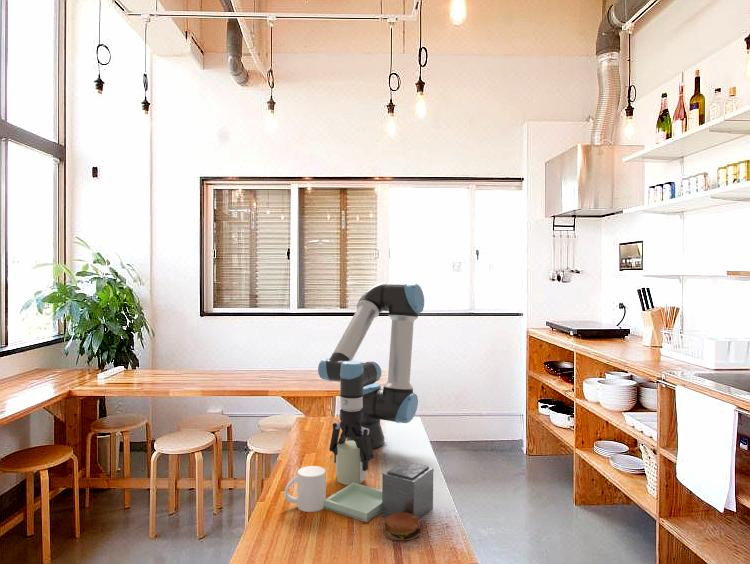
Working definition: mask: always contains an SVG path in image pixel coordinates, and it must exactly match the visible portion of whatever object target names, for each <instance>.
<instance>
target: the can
mask: <svg viewBox="0 0 750 564" xmlns="http://www.w3.org/2000/svg"><path fill="white" fill-rule="evenodd" d="M337 448H338V468H337V476H336V481H337V483H339V484H342V485H346V486H348V485H350V484H351V483H353V482H354V483H357V484H362V483H363V482H365V480H363V481H360V461H361V460H362V459H361V456H360V448H357V445H356V442H355V441H354V440H349V441H347V440H346V441H345V442H344V443H342V444H339V443H338V445H337Z"/></svg>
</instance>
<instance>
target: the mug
mask: <svg viewBox="0 0 750 564" xmlns="http://www.w3.org/2000/svg"><path fill="white" fill-rule="evenodd" d="M326 479H327V471H326V469H325V468H324V467H323V466H318V465H308V466H303V467H301V468H299V469H298V470H297V475H296V476H294V477H292V478H291V479H290V480H289V481H288V483H287V484H286V486H285V488H284V492H283V494H284V497H285V499H286V501H288V502H290V503H293V504H296V506H297V508H298V510H299V511H302V512H305V513H315V512H319V511H321V510H324V500H325V499H326V498H327V497H326V495H327V491H326V490H327V485H326V484H327V483H326V482H327V481H326ZM296 483H297V485H296V486H297V488H296V489H297V491H296V492H297V494H296V495H297V496H292V495H290V493H289V489H290V487H292V485H293V484H296Z"/></svg>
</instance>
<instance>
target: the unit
mask: <svg viewBox="0 0 750 564" xmlns="http://www.w3.org/2000/svg"><path fill="white" fill-rule="evenodd" d="M381 482H382V485H381V488H382V489H381V490H382V512H381V517H383V518H387V517H388V516H389V515H391V514H393V513H398V512H404V513H410V514H413V515H415V516H417V518H418V520H419V522H420V521H421V520H422V519H423V518H424V517H425V516H427V515H428V514H429V513H430V512H431V511H432V510H433V509H434V467H433V466H432V467H431V466H429V465H426V464H421V463H416V462H412V461H408V460H402V461H400V462H399V463H398V464H396V465H394V466H393V467H391V468H390V469H388V470H386V471H385V472H383V473H382V481H381Z"/></svg>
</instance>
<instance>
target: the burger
mask: <svg viewBox="0 0 750 564" xmlns="http://www.w3.org/2000/svg"><path fill="white" fill-rule="evenodd" d="M383 533H384V535H385V537H386V538H387V539H389V540H392V541H404V542H405V541H410V540H413V539H417V538H418V536H419V535H421V533H422V529H421V526H420V521H419V520H418V518H417V516H415V515H413V514H410V513H404V512H398V513H393V514H391V515H389V516H388V517H385V519H384V522H383Z"/></svg>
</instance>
